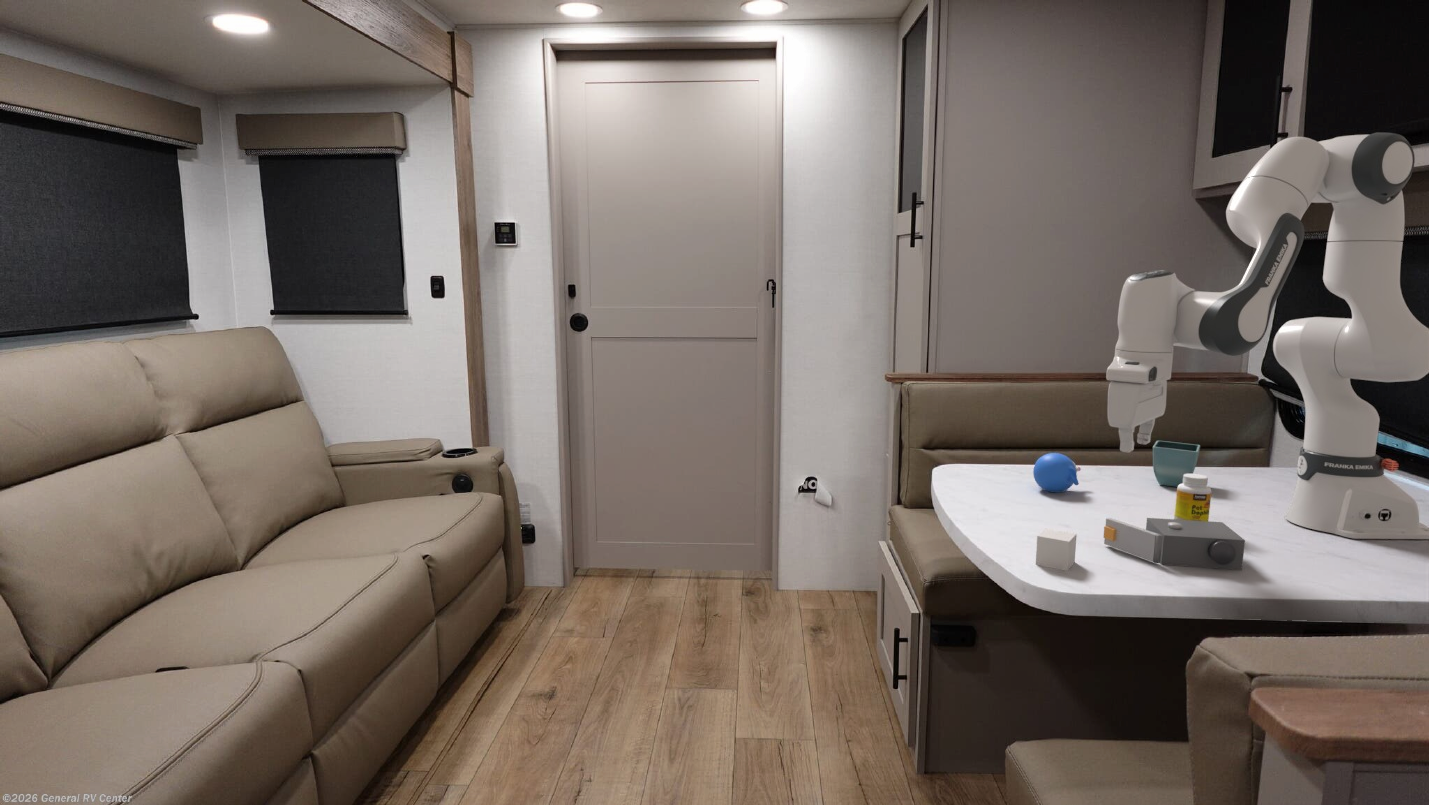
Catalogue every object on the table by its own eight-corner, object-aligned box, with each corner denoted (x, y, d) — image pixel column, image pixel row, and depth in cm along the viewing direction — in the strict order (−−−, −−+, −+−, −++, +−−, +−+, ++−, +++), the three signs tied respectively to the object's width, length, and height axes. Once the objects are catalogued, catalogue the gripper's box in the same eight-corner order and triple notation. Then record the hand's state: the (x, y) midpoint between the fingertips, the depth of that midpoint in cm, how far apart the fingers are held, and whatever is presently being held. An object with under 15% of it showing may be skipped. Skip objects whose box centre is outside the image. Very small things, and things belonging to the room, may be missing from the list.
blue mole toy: (1101, 494, 185) (1104, 455, 184) (1061, 500, 180) (1064, 461, 179) (1057, 481, 196) (1059, 445, 194) (1018, 487, 191) (1020, 450, 189)
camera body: (1219, 550, 149) (1222, 518, 148) (1245, 573, 138) (1249, 539, 137) (1144, 545, 151) (1147, 514, 151) (1164, 567, 140) (1167, 534, 139)
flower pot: (1196, 483, 195) (1200, 444, 193) (1194, 491, 187) (1197, 451, 186) (1153, 478, 199) (1156, 439, 198) (1149, 486, 192) (1152, 446, 190)
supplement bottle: (1188, 534, 158) (1194, 480, 156) (1166, 525, 163) (1171, 473, 161) (1214, 532, 159) (1220, 478, 157) (1191, 523, 164) (1196, 471, 162)
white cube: (1074, 562, 143) (1076, 533, 142) (1067, 571, 139) (1069, 541, 138) (1043, 556, 146) (1045, 528, 145) (1035, 565, 142) (1037, 535, 141)
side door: (1108, 543, 151) (1110, 517, 150) (1161, 562, 141) (1164, 535, 141) (1101, 544, 151) (1103, 519, 150) (1154, 564, 141) (1156, 537, 140)
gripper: (1141, 361, 156) (1134, 436, 158) (1102, 370, 140) (1096, 453, 143) (1179, 364, 151) (1172, 441, 154) (1144, 374, 136) (1136, 459, 138)
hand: (1135, 447), depth 148 cm, fingers open, 8 cm apart
